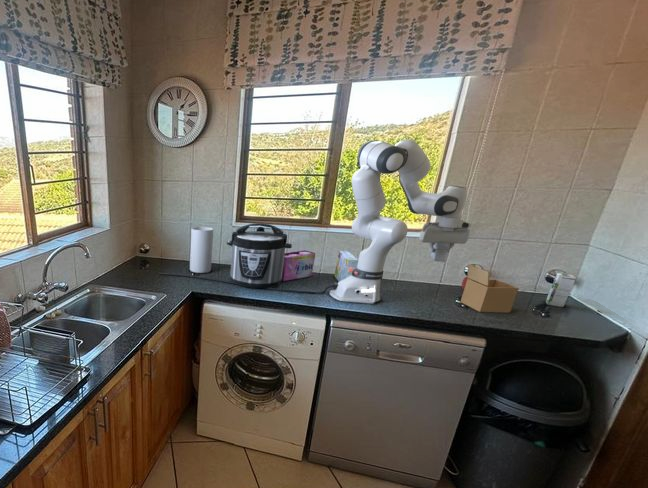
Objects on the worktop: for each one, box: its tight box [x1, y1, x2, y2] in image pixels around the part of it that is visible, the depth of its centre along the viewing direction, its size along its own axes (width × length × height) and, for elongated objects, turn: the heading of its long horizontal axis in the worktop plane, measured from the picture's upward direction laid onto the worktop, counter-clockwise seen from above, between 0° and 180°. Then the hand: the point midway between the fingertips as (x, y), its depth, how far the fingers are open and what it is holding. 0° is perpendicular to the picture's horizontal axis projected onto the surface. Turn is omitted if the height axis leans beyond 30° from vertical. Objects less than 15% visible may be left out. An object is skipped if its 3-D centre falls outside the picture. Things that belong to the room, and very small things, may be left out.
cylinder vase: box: [189, 226, 214, 274], centre depth 235 cm, size 12×12×25 cm
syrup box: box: [545, 272, 577, 308], centre depth 186 cm, size 6×6×14 cm
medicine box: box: [429, 243, 450, 263], centre depth 190 cm, size 8×4×9 cm, turn 160°
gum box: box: [281, 250, 316, 282], centre depth 226 cm, size 24×8×14 cm, turn 118°
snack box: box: [333, 250, 359, 282], centre depth 217 cm, size 21×6×15 cm, turn 168°
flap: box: [466, 264, 490, 286], centre depth 179 cm, size 6×13×1 cm
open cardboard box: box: [460, 278, 520, 314], centre depth 183 cm, size 13×13×12 cm
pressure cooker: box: [226, 222, 293, 289], centre depth 212 cm, size 30×28×32 cm
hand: (439, 252), depth 190 cm, fingers closed on medicine box, 5 cm apart
